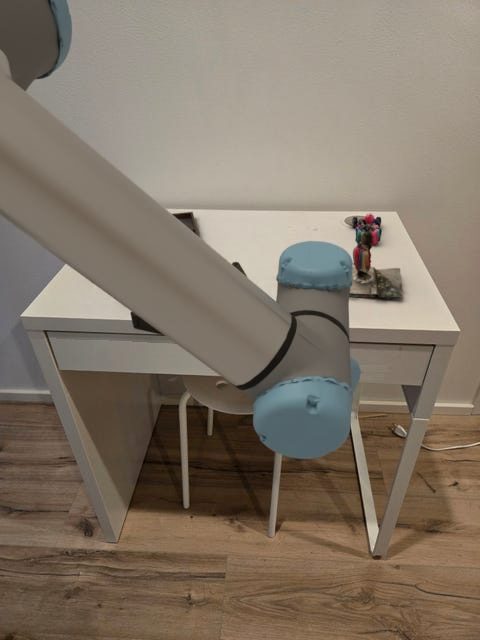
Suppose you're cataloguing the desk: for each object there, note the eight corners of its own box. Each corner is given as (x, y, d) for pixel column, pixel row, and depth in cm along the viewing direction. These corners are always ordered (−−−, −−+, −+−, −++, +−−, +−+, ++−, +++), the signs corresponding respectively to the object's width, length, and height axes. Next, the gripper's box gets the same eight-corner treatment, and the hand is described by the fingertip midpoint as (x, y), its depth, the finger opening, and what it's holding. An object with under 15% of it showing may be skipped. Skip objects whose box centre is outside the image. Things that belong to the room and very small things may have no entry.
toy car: (350, 223, 106) (352, 208, 103) (377, 223, 105) (380, 208, 103) (359, 246, 96) (361, 230, 94) (388, 246, 96) (392, 230, 94)
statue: (340, 301, 82) (339, 227, 73) (342, 274, 89) (342, 204, 80) (402, 301, 79) (409, 225, 70) (399, 274, 86) (405, 201, 77)
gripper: (178, 399, 54) (96, 325, 67) (309, 315, 67) (219, 266, 80) (171, 354, 50) (84, 283, 62) (312, 273, 63) (217, 229, 75)
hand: (160, 274), depth 71 cm, fingers open, 13 cm apart
